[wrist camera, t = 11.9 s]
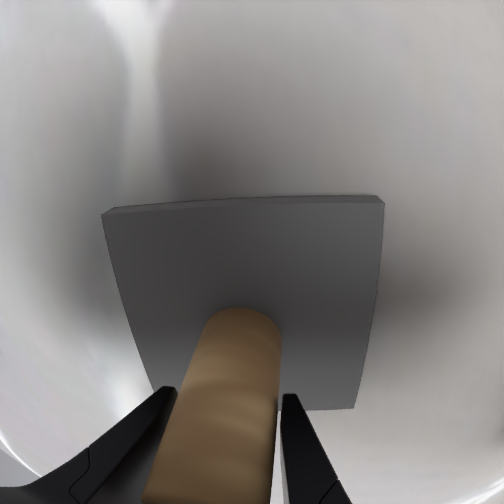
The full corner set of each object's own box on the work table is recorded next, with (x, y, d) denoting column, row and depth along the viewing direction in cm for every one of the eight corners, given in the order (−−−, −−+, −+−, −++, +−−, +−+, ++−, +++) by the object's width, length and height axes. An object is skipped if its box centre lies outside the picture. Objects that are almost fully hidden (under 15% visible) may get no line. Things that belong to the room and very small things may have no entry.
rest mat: (376, 195, 10) (384, 202, 9) (351, 393, 14) (353, 408, 13) (113, 207, 12) (100, 215, 11) (163, 387, 15) (157, 400, 15)
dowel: (281, 307, 11) (266, 507, 4) (281, 369, 12) (268, 536, 6) (197, 306, 11) (121, 481, 5) (208, 365, 12) (161, 520, 6)
